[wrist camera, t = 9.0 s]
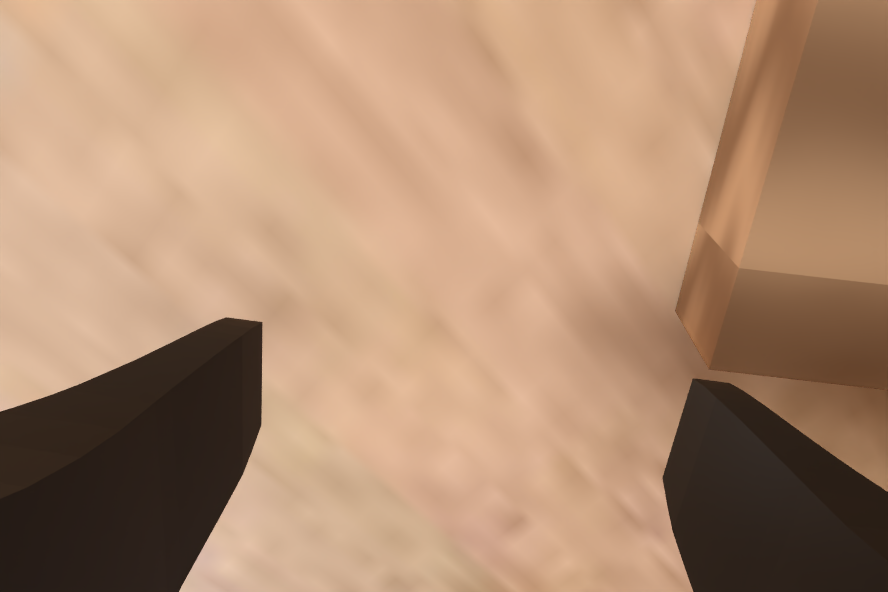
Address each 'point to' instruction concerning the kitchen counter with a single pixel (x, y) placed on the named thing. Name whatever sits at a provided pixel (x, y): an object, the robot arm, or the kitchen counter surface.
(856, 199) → the slotted wooden block
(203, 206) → the kitchen counter surface
